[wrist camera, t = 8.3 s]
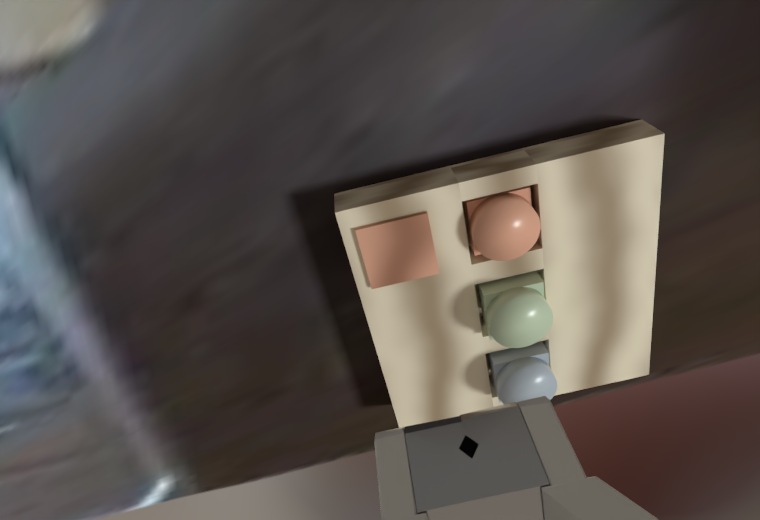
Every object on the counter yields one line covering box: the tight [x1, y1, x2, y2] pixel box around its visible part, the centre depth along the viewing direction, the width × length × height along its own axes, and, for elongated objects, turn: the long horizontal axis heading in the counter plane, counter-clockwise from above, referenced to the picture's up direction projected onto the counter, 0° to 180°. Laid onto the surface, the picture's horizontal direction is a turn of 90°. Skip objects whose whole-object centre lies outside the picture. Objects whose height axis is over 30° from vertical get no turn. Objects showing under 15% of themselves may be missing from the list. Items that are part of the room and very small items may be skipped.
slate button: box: [488, 341, 557, 404], centre depth 44 cm, size 5×5×3 cm
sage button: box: [478, 271, 553, 348], centre depth 41 cm, size 5×5×3 cm
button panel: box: [334, 119, 665, 428], centre depth 42 cm, size 22×22×3 cm
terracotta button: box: [462, 186, 541, 261], centre depth 38 cm, size 5×5×3 cm
